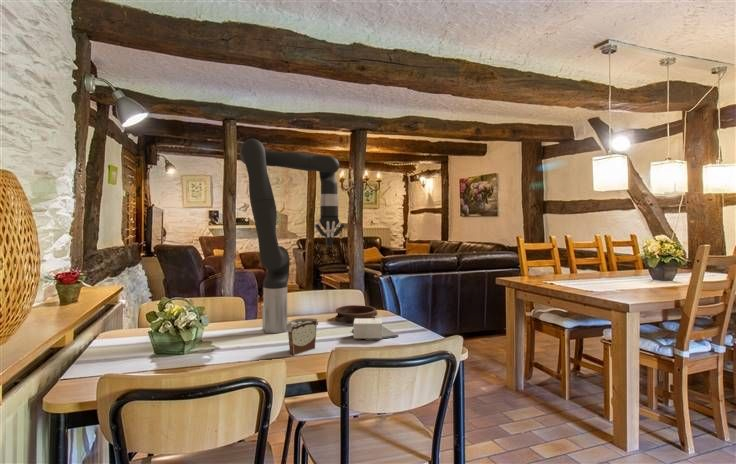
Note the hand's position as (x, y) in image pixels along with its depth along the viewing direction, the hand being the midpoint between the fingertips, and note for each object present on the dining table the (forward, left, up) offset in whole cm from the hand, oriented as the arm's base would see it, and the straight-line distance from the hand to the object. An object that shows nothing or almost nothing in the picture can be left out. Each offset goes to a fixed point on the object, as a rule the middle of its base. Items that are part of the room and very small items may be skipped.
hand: (329, 246), depth 179 cm
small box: (+1, -24, -29) cm, 38 cm away
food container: (-21, -31, -33) cm, 50 cm away
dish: (+13, +1, -33) cm, 35 cm away
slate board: (+11, -23, -33) cm, 41 cm away
